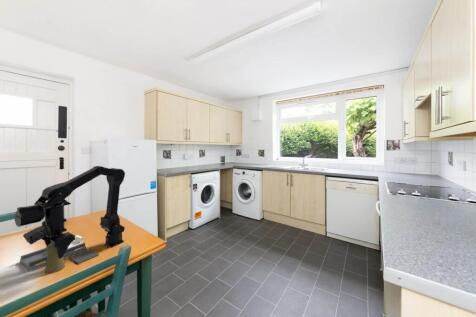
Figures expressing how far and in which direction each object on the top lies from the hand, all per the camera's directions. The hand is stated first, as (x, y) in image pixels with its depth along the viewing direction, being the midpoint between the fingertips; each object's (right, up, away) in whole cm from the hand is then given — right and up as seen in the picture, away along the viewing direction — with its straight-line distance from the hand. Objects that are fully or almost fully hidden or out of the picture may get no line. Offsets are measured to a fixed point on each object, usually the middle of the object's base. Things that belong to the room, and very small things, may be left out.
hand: (55, 254), depth 77 cm
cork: (0, -6, 0) cm, 6 cm away
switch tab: (-7, -3, +13) cm, 15 cm away
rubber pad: (+5, -6, +9) cm, 12 cm away
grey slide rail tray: (-9, -5, +9) cm, 14 cm away
